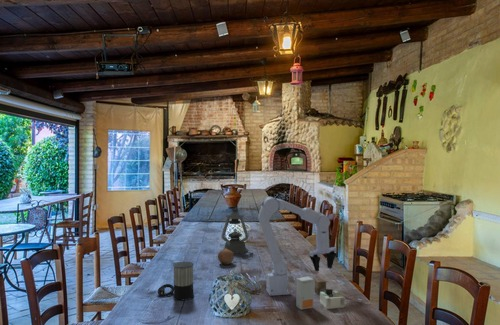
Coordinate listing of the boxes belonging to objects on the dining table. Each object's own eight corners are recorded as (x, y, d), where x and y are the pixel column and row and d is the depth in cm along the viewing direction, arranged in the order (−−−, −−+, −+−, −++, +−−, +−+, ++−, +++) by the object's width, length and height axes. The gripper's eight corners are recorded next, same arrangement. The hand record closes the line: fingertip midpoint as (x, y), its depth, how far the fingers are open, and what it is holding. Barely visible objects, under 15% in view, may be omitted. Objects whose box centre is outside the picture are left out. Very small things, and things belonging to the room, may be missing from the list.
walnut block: (317, 295, 173) (317, 282, 173) (314, 292, 177) (314, 279, 177) (326, 294, 173) (326, 281, 173) (323, 291, 177) (322, 278, 177)
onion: (225, 267, 227) (225, 250, 232) (237, 265, 222) (237, 248, 226) (214, 264, 221) (214, 247, 225) (226, 262, 215) (226, 245, 220)
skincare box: (301, 310, 156) (301, 281, 156) (296, 306, 160) (295, 278, 160) (314, 307, 158) (313, 279, 158) (308, 304, 162) (308, 276, 162)
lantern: (243, 245, 269) (243, 203, 269) (252, 252, 250) (252, 206, 250) (218, 247, 264) (218, 204, 263) (226, 254, 244) (225, 208, 244)
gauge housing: (319, 301, 165) (319, 291, 165) (337, 300, 166) (336, 290, 166) (326, 308, 157) (326, 298, 157) (344, 307, 159) (344, 296, 158)
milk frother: (195, 299, 169) (195, 266, 169) (158, 303, 164) (158, 269, 164) (191, 288, 182) (190, 257, 182) (157, 292, 178) (156, 260, 178)
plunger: (320, 294, 170) (320, 285, 170) (328, 294, 171) (328, 284, 171) (326, 300, 163) (326, 290, 163) (334, 299, 164) (334, 290, 164)
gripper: (315, 244, 170) (316, 274, 171) (340, 239, 178) (341, 268, 178) (306, 241, 177) (306, 270, 177) (330, 237, 184) (330, 265, 184)
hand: (323, 269), depth 178 cm, fingers open, 7 cm apart
